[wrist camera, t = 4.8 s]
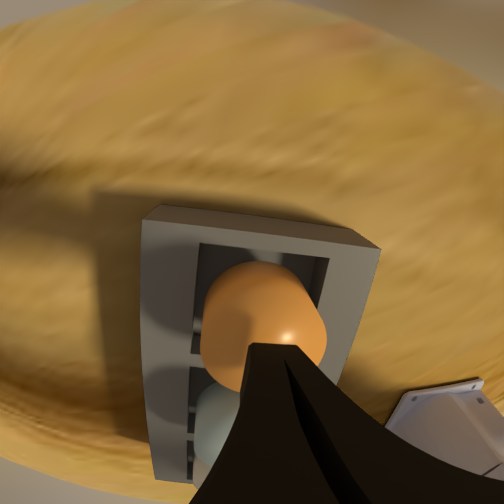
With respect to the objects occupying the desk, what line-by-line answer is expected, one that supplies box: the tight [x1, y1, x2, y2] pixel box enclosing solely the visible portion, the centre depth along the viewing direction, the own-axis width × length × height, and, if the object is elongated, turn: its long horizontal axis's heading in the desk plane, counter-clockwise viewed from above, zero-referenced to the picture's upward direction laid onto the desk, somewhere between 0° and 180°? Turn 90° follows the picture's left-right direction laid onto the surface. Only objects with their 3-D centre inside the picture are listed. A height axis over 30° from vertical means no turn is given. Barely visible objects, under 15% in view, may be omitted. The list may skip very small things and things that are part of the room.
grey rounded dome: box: [194, 382, 240, 467], centre depth 12 cm, size 4×4×3 cm
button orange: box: [200, 261, 327, 392], centre depth 11 cm, size 4×4×3 cm
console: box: [140, 204, 381, 484], centre depth 15 cm, size 9×17×3 cm, turn 171°
